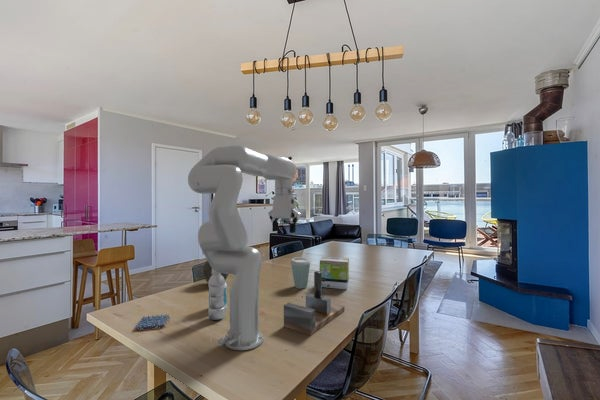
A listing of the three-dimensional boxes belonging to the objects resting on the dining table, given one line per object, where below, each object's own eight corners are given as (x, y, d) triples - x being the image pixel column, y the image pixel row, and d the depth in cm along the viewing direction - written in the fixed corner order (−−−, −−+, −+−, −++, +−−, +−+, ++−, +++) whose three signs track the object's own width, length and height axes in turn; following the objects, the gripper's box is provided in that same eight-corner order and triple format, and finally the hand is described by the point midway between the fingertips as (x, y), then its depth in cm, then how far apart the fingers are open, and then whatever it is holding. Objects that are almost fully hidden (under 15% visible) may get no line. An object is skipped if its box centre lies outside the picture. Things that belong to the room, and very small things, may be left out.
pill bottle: (208, 312, 118) (208, 280, 118) (209, 306, 126) (209, 275, 125) (227, 311, 120) (227, 279, 120) (226, 304, 128) (226, 274, 127)
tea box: (319, 287, 151) (319, 260, 151) (322, 282, 161) (322, 256, 161) (347, 289, 148) (347, 261, 148) (349, 284, 158) (348, 257, 157)
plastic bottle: (218, 314, 117) (218, 265, 117) (228, 318, 113) (228, 268, 113) (204, 319, 112) (204, 268, 112) (214, 323, 108) (214, 271, 108)
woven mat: (133, 333, 102) (133, 328, 102) (141, 321, 112) (141, 316, 112) (165, 330, 104) (165, 324, 104) (170, 318, 115) (170, 313, 115)
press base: (310, 335, 99) (310, 312, 99) (283, 326, 106) (283, 305, 106) (344, 311, 120) (344, 292, 120) (320, 304, 127) (320, 287, 127)
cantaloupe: (231, 286, 154) (231, 258, 154) (203, 289, 149) (203, 261, 148) (227, 279, 167) (227, 254, 167) (202, 282, 162) (202, 256, 162)
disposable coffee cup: (314, 285, 155) (313, 258, 155) (304, 291, 145) (304, 262, 145) (297, 282, 160) (297, 256, 160) (286, 288, 151) (286, 259, 151)
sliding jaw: (326, 315, 110) (326, 274, 110) (305, 309, 116) (305, 271, 116) (330, 312, 112) (330, 273, 112) (309, 307, 118) (309, 269, 118)
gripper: (304, 192, 121) (304, 232, 121) (274, 192, 131) (274, 229, 132) (294, 192, 115) (294, 234, 115) (263, 192, 125) (263, 231, 126)
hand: (283, 231), depth 123 cm, fingers open, 9 cm apart
